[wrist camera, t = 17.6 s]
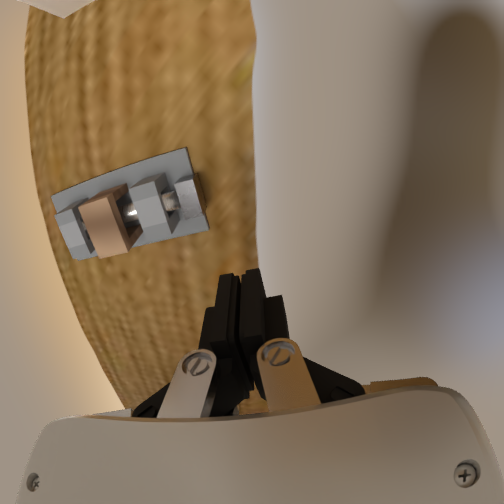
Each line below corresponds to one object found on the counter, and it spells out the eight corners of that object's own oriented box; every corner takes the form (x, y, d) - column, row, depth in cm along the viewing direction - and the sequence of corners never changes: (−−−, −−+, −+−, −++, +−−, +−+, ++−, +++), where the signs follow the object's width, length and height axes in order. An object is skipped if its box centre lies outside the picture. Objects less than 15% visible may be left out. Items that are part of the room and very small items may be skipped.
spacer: (143, 231, 34) (128, 252, 30) (117, 238, 35) (99, 258, 30) (126, 182, 31) (106, 197, 27) (99, 191, 32) (78, 207, 27)
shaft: (206, 206, 33) (203, 215, 30) (96, 235, 34) (87, 245, 32) (197, 173, 31) (192, 179, 28) (85, 206, 32) (74, 215, 30)
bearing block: (209, 228, 35) (203, 245, 31) (79, 258, 37) (64, 276, 33) (186, 147, 30) (176, 153, 26) (53, 194, 32) (33, 207, 28)
